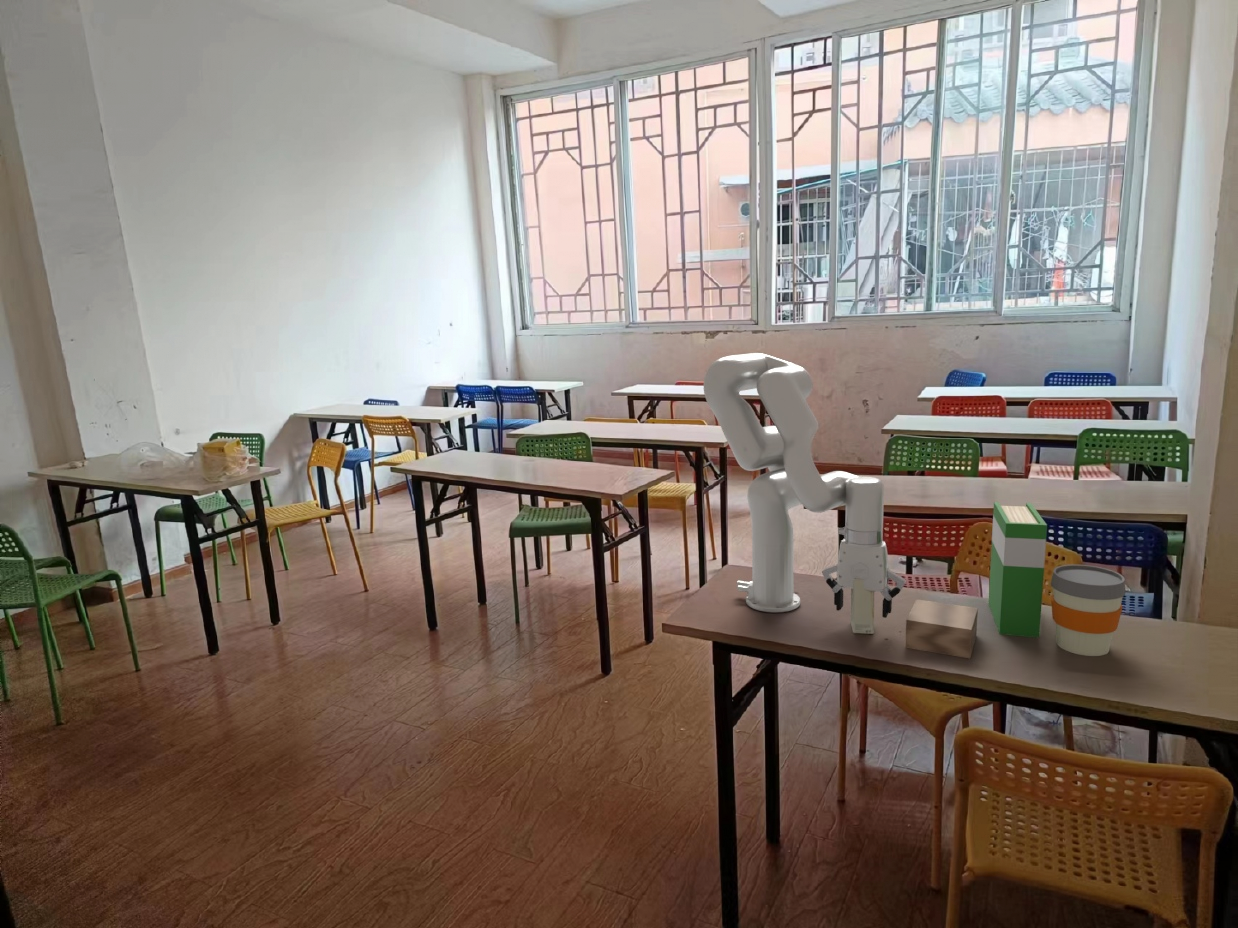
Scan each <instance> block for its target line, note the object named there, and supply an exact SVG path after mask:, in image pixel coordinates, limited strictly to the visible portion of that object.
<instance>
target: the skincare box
mask: <svg viewBox="0 0 1238 928" xmlns="http://www.w3.org/2000/svg"><path fill="white" fill-rule="evenodd" d="M874 623H875V592H873V591H868V590H865V589H864V583H863V579H862V580H861V579H858V578H854V587H853V589H851V588H850V625H851V629H852V633H853V634H867V635H868V634H869V635H870V634H871V635H873V634H874V633H875V630H874V629H875V624H874Z"/></svg>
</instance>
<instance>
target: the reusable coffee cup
mask: <svg viewBox="0 0 1238 928" xmlns="http://www.w3.org/2000/svg"><path fill="white" fill-rule="evenodd" d="M1050 587H1052V595H1051V597H1050V601H1051V614H1052V617H1051V618H1052V620H1053V622H1054V624H1055V636H1056V637H1055V638H1056V644H1057V646H1058V647H1059V648H1061V649H1063V650H1064V651H1067V652H1069V653H1073V654H1076V655H1080V656H1085V657H1099V656H1104V655H1107V654H1108V653H1109V651H1110V649H1111V644H1112V640H1113V637H1114V636H1113V635H1114V632H1115V631H1117V630H1118V626H1119V624H1120V619H1121V614H1122V610H1123V605H1122V601H1123V598H1124V596H1125V595H1126V579H1125V577H1124V576H1123V575H1122V574H1121V573H1119V572H1118V571H1114V570H1111V569H1108V568H1104V567H1101V566H1100V567H1099V566H1095V565H1087V564H1064V565H1059V566H1056V567H1055V568H1053V571H1052V575H1051V580H1050Z"/></svg>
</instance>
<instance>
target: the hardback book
mask: <svg viewBox="0 0 1238 928" xmlns="http://www.w3.org/2000/svg"><path fill="white" fill-rule="evenodd" d="M992 518H993V519H992V531H991V549H990V550H991V551H990V570H989V584H988V585H989V588H988V602H989V603H988V606H989V609H990V612H991V614H992V617H993V620H994V622H995V626H996V628H997V632H998V634H999V635H1004V636H1005V635H1007V636H1018V637H1031V638H1040V633H1041V617H1042V616H1041V615H1042V605H1043V603H1042V602H1043V590H1044V589H1043V588H1044V576H1045V575H1044V574H1045V561H1046V560H1045V559H1046V549H1047V548H1046V547H1047V546H1046V545H1047V531H1048V524H1047V523H1046V521H1045V520H1044V519H1043V518H1042V516H1041V515H1040V513H1039V512H1038V511H1037V509H1036V508H1035V507H1034V505H1033V503H1032V502H1026V503H1025V506H1023V505H1022V506H1021V505H1019V506H1017V505H1015V506H1014V505H1001V503H1000V502H999V501H994V502H993V515H992Z"/></svg>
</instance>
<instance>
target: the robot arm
mask: <svg viewBox="0 0 1238 928" xmlns="http://www.w3.org/2000/svg"><path fill="white" fill-rule="evenodd" d="M813 388H814V384H813V379H812V376H811V375H810V372H808V370H806V369H805V368H804V367H802V366H800V365H799V364H796V363H793V362H790V361H787V360H784V359H781V358H777V357H775V356H771V355H769V354H765V353H761V352H750V353H742V354H732V355H727V356H722V357H720V358H718V359H716V360H714V361H713V362H712V363H711V364H710V365H709V366H708V368H707V369H706V372H705V373H704V378H703V394H704V397H705V400H706V403H707V405H708V407H709V408H710V411H712V413H713V415H714V416H715V418H716V420H717V423H718V424H719V426H720V428H721V431H722V433H723V435H724V437H725V440H726V442H727V443H728V446H729V448H730V450H731V452H732V453H733V456H734V459H735V460H736V462H737V464H738V465H739V466H740V468H742V469H743V470H745V471H748V472H750V471H751V472H754V471H758V470H759V471H761V470H763V469H768V471H767V472H765V473H763V474H760V475H758V476H757V477H755V478H754V479H753V480H752V481H751V482H750V484H749V486H748V488H747V498H746V499H747V504H748V508H749V514H750V520H751V523H750V525H751V553H752V554H751V558H752V559H751V561H752V564H751V566H752V571H751V572H752V575H751V576H752V580H750V581H745V580H741V579H740V580H739V579H738V580H737V581H736V588H737V591H738V592H743V593H747V595H746V597H745V603H746V605H747V606H748V607H750V608H752V609H754V610H756V611H760V612H765V613H785V612H786V613H787V612H790V611H793V610H795V609H798V607H799V606H800V605H801V598H800V596H799V595H798V594H796V593H795V592H794V555H795V554H794V553H795V551H794V527H793V523H792V519H791V517H790V514H789V509H792V508H795V507H798V506H800V505H802V506H803V507H804V508H806V510H808V511H809V512H812V513H816V514H819V513H820V514H822V513H825V512H828V511H830V510H833V509H836V508H838V507H839V508H840V507H842V506H845V526H844V527H839V528H838V530H837V531H838V535H842V536H843V537H844V538H843V539H842V540H840V545H839V550H838V557H837V558H838V559H837V563H836V564H834V565H831V566H828V567H825V568H823V569H822V570H821V574H822V576H823V578H824V580H825V582H826V584H827V586H828V587H830V589H832V593H833V596H834V598H833V599H834V600H833V604H834V605H833V606H836V611H838V612H840V611H841V609H842V608H843V607H844V589H843V588H845V589H850V590H851V589H853V587H854V578H858V579H861V580H862V579H863V583H864V589H865V590H868V591H873V592H874V593H881V595H882V596H883V599H882V618H884V619H886V618H887V617H888V615H889V614H891V613H892V608H893V607H892V605H893V603H892V602H893V598H894V597H896V596H897V595H899V593H900V592H901V591H902V589H903V588H904V586H905V585H906V583H907V580H906V579H905V578H904V577H902V576H901V575H899V574H897V573H895V572H894V571H892V570H890V569H889V555H888V548H887V544H886V541H884V540H883V537H884V535H883V533H884V530H883V529H884V503H885V502H884V500H885V499H884V498H885V497H884V496H885V495H884V493H885V492H884V491H885V490H884V489H885V487H884V482H883V481H882V480H881V478H877V477H874V476H863V475H862V476H859V475H856V474H853V473H850V472H847V471H843V470H833V471H830V472H828V473H823V474H820V473H819V470H818V469H817V467H816V465H815V462H814V459H813V456H812V442H813V439H814V437H815V435H816V434H817V432H818V430H819V422H818V420H817V417H816V416H815V415H814V412H813V411H812V409H811V408H810V405H809V404H808V402H807V400H806V399H807V398H808V397H810V395H811V393H812V391H813ZM754 389H756V391H757V394H758V396H759V399H760V401H761V402H762V404H763V406H764V408H765V410H766V412H767V414H768V416H769V417H770V419H771V421H772V422H773V425H767V426H766V425H765V426H763V425H762V424H761V423H760V421H759V419H758V417H757V415H756V414H755V411H754V409H753V407H752V406H751V404H749V402H748V401H746V399H744V398H743V397H742V396H741V395H740V392H742V391H749V390H754ZM833 573H836V580H835V578H834V577H832V574H833ZM890 580H891V581H892V582H895V583H896V585H895V587H893V588H892V589H891V587H890V586H889V585H888V584H889V581H890Z"/></svg>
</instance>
